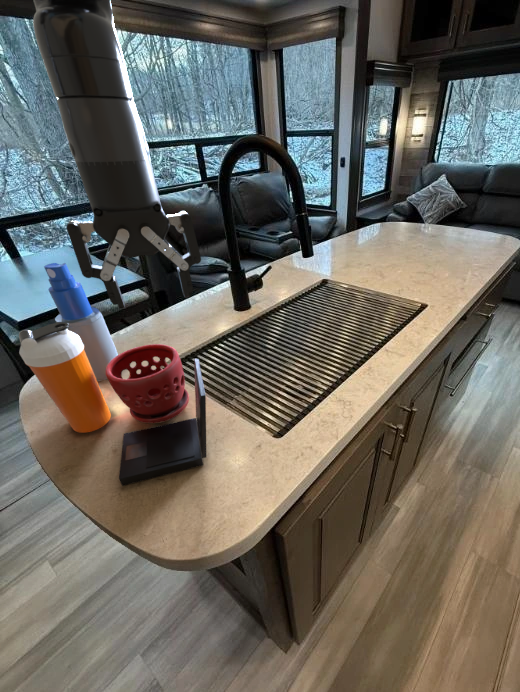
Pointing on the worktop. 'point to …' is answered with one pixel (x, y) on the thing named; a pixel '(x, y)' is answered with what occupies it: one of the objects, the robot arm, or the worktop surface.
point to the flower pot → (150, 383)
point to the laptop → (160, 451)
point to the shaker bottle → (65, 375)
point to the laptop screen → (200, 407)
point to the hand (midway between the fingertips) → (155, 300)
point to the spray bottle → (81, 318)
